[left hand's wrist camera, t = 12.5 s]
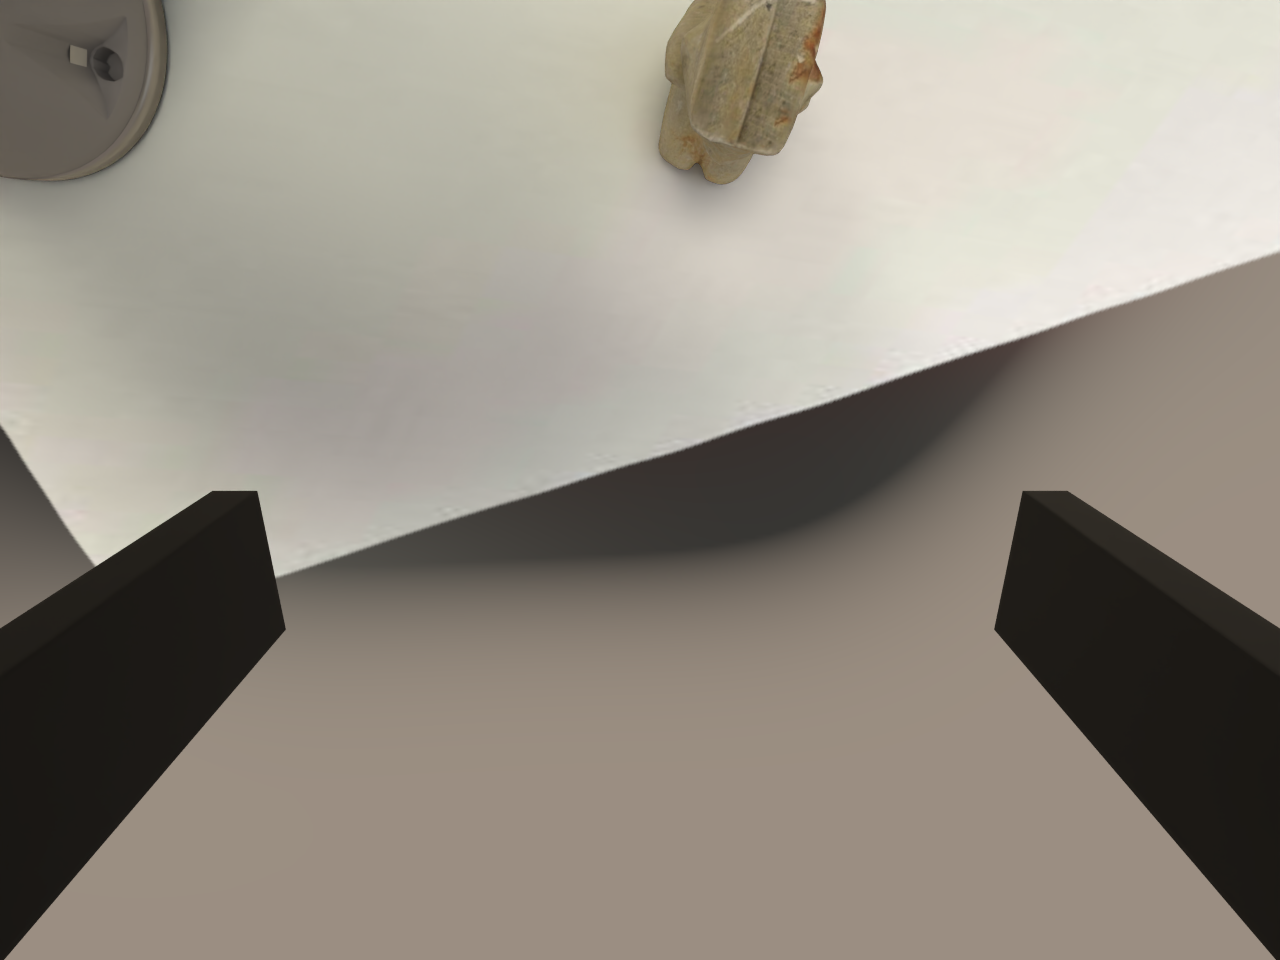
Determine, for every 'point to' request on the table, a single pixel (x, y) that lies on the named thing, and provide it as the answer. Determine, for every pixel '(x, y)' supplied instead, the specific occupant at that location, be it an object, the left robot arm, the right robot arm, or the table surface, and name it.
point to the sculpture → (738, 81)
